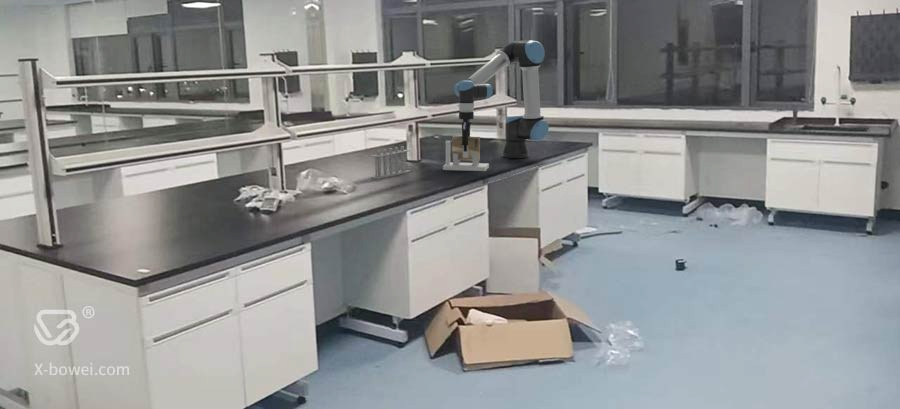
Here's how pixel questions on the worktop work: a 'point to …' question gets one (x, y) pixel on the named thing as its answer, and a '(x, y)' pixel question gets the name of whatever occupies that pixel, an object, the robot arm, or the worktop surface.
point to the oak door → (472, 147)
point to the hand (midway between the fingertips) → (466, 157)
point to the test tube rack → (390, 162)
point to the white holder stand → (463, 166)
